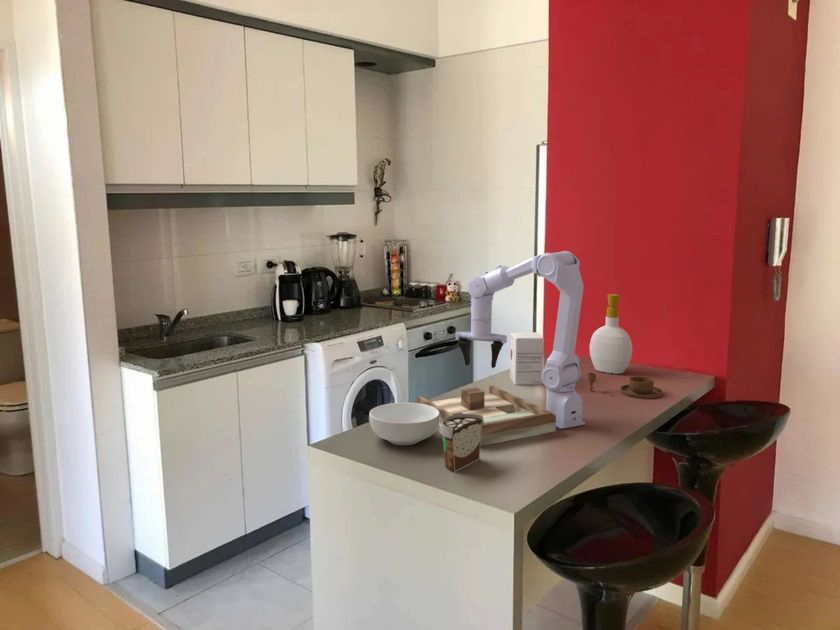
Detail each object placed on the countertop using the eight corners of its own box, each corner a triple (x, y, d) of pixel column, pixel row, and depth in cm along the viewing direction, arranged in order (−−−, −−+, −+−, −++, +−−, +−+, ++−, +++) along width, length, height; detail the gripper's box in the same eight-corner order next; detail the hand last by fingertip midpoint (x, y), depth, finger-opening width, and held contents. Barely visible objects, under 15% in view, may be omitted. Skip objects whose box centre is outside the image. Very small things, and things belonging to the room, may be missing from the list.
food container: (461, 451, 160) (461, 409, 158) (483, 457, 156) (484, 414, 154) (427, 467, 150) (427, 423, 148) (450, 474, 146) (450, 429, 145)
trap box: (555, 431, 172) (556, 412, 172) (472, 447, 162) (473, 427, 161) (492, 400, 198) (492, 383, 197) (417, 412, 187) (417, 394, 186)
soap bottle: (635, 372, 230) (640, 294, 225) (625, 378, 223) (630, 298, 218) (595, 365, 238) (598, 290, 234) (584, 370, 231) (587, 293, 227)
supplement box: (509, 377, 223) (510, 332, 220) (536, 377, 223) (538, 331, 221) (514, 385, 214) (515, 337, 211) (543, 384, 214) (544, 337, 212)
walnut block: (484, 407, 183) (484, 391, 182) (469, 410, 181) (469, 393, 180) (475, 403, 187) (475, 387, 186) (461, 405, 185) (461, 389, 184)
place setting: (649, 406, 195) (650, 385, 194) (583, 393, 207) (584, 374, 206) (670, 392, 209) (671, 373, 208) (607, 381, 221) (608, 363, 220)
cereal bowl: (451, 435, 170) (452, 408, 169) (417, 457, 156) (417, 427, 154) (393, 423, 178) (393, 397, 177) (355, 443, 164) (355, 415, 163)
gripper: (510, 318, 195) (508, 364, 197) (461, 314, 200) (460, 360, 203) (503, 322, 189) (502, 370, 191) (453, 318, 194) (452, 365, 196)
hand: (480, 365), depth 196 cm, fingers open, 7 cm apart
